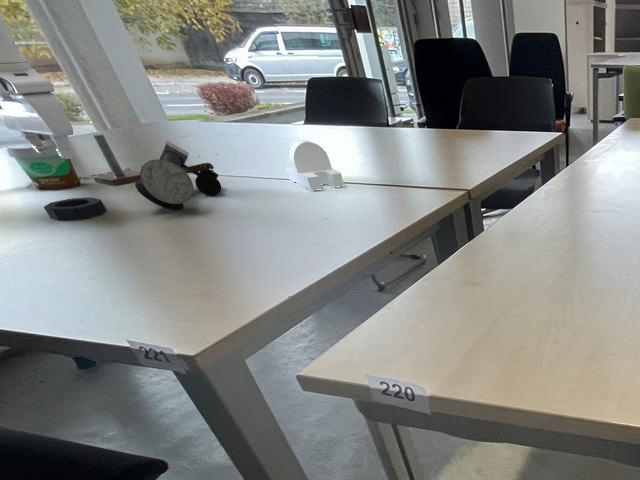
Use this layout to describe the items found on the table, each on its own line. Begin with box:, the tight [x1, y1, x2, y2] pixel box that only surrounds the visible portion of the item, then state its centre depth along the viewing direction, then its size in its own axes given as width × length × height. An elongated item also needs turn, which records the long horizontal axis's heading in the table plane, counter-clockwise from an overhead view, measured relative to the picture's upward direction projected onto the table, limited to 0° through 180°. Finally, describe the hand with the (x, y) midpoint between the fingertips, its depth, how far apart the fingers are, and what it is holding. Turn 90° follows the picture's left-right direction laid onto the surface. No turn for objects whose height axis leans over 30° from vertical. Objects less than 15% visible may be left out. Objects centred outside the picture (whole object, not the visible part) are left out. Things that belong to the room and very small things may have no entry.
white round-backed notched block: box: [285, 139, 345, 190], centre depth 146 cm, size 10×18×11 cm, turn 44°
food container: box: [6, 144, 82, 191], centre depth 136 cm, size 12×6×10 cm, turn 129°
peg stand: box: [92, 133, 141, 186], centre depth 143 cm, size 9×9×12 cm
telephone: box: [134, 140, 222, 212], centre depth 130 cm, size 15×13×30 cm
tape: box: [43, 197, 108, 222], centre depth 121 cm, size 10×10×2 cm
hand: (55, 156), depth 113 cm, fingers open, 8 cm apart
